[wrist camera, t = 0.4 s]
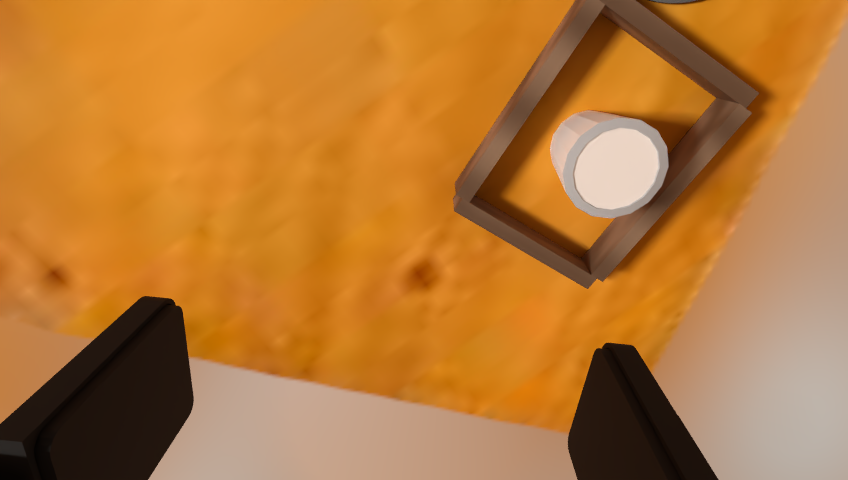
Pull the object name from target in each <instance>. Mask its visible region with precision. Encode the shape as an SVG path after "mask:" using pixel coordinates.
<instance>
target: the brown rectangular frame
mask: <svg viewBox="0 0 848 480" xmlns="http://www.w3.org/2000/svg"><path fill="white" fill-rule="evenodd" d="M599 13H601V14H602V15H604V16H605V17H606V18H608V19H609V20H611V21H612V22H613V23H615V24H616V25H617V26H619V27H620V28H621V29H623V30H624V31H626V32H627V33H628V34H630V35H631V36H632V37H634V38H635V39H637V40H638V41H639V42H641V43H642V44H643V45H645V46H646V47H647V48H649V49H650V50H652V51H653V52H654V53H656V54H657V55H658V56H660V57H661V58H663V59H664V60H665V61H667V62H668V63H669V64H671V65H672V66H673V67H675V68H676V69H678V70H679V71H680V72H682V73H683V74H684V75H686V76H687V77H689V78H690V79H691V80H693V81H694V82H695V83H697V84H698V85H699V86H701V87H702V88H704V89H705V90H706V91H708V92H709V93H710V94H712V95H713V96H715V97H716V99H715V100H714V102H713V103H712V104H711V105H710V106H709V108H708V109H707V110H706V111H705V112H704V113H703V115H702V116H701V117H700V118H699V119H698V121H697V122H696V123H695V124H694V125H693V127H692V128H691V129H690V130H689V131H688V132H687V134H686V135H685V136H684V137H683V138H682V140H681V141H680V142H679V143H678V144H677V146H676V147H675V148H674V149H673V150H672V151H671V153H670V154H669V155H668V165H669V167H668V170H667V173H666V176H665V178H664V181H663V184H662V186H661V188H660V189H659V190H658V191H657V193H656V194H655V195H654V196H653V198H652V199H651V200H650V201H649V202H648V203H647V204H645V205H644V206H642V207H640V208H639V209H637V210H636V211H634V212H632V213H631V214H627V215H623V216H618V217H616V218H615V219H614V220H613V222H612V223H611V224H610V225H609V226H608V227H607V229H606V230H605V231H604V232H603V233H602V235H601V236H600V237H599V238H598V239H597V241H596V242H595V243H594V244H593V245H592V246H591V248H590V249H589V250H588V251H587V252H586V254H585V255H584V256H583V257H582V258H579V257H578V256H576V255H574V254H573V253H571V252H569V251H568V250H566V249H564V248H563V247H561V246H559V245H558V244H556V243H554V242H553V241H551V240H549V239H548V238H546V237H544V236H543V235H541V234H539V233H537V232H536V231H534V230H532V229H531V228H529V227H527V226H526V225H524V224H522V223H521V222H519V221H517V220H516V219H514V218H512V217H511V216H509V215H507V214H506V213H504V212H502V211H501V210H499V209H497V208H496V207H494V206H492V205H491V204H489V203H487V202H486V201H484V200H482V199H481V198H479V197H477V196H476V195H475V193H476V192H477V191H478V189H479V188H480V186H481V185H482V183H483V182H484V180H485V179H486V177H487V176H488V175H489V173H490V172H491V170H492V169H493V167H494V166H495V164H496V163H497V161H498V160H499V159H500V157H501V156H502V154H503V153H504V151H505V150H506V148H507V147H508V145H509V144H510V143H511V141H512V140H513V138H514V137H515V135H516V134H517V132H518V131H519V129H520V128H521V127H522V125H523V124H524V122H525V121H526V119H527V118H528V116H529V115H530V113H531V112H532V111H533V109H534V108H535V106H536V105H537V103H538V102H539V100H540V99H541V97H542V96H543V95H544V93H545V92H546V90H547V89H548V87H549V86H550V84H551V83H552V81H553V80H554V79H555V77H556V76H557V74H558V73H559V71H560V70H561V68H562V67H563V65H564V64H565V63H566V61H567V60H568V58H569V57H570V55H571V54H572V52H573V51H574V49H575V48H576V47H577V45H578V44H579V42H580V41H581V39H582V38H583V36H584V35H585V33H586V32H587V31H588V29H589V28H590V26H591V25H592V23H593V22H594V20H595V19H596V17H597V16H598V15H599ZM758 94H759V93H758V92H757V91H756V90H754V89H753V88H752V87H750V86H749V85H748V84H746V83H745V82H744V81H742V80H741V79H740V78H738V77H737V76H736V75H734V74H733V73H732V72H730V71H729V70H728V69H726V68H725V67H724V66H722V65H721V64H720V63H718V62H717V61H716V60H714V59H713V58H712V57H710V56H709V55H708V54H706V53H705V52H704V51H702V50H701V49H700V48H698V47H697V46H696V45H694V44H693V43H692V42H690V41H689V40H688V39H686V38H685V37H684V36H682V35H681V34H680V33H678V32H677V31H676V30H674V29H673V28H672V27H670V26H669V25H668V24H666V23H665V22H664V21H662V20H661V19H660V18H659V17H657V16H656V15H655V14H653V13H652V12H651V11H649V10H648V9H647V8H645V7H644V6H643V5H641V4H640V3H639V2H637V1H636V0H576V1H575V2H574V4H573V5H572V7H571V8H570V10H569V11H568V13H567V14H566V16H565V17H564V19H563V20H562V22H561V23H560V25H559V26H558V28H557V29H556V31H555V32H554V34H553V35H552V37H551V39H550V40H549V42H548V43H547V45H546V46H545V48H544V49H543V51H542V52H541V54H540V55H539V57H538V58H537V60H536V61H535V63H534V64H533V66H532V67H531V69H530V70H529V72H528V73H527V75H526V76H525V78H524V79H523V81H522V82H521V84H520V85H519V87H518V88H517V90H516V91H515V93H514V94H513V96H512V98H511V99H510V101H509V102H508V104H507V105H506V107H505V108H504V110H503V111H502V113H501V114H500V116H499V117H498V119H497V120H496V122H495V123H494V125H493V126H492V128H491V129H490V131H489V132H488V134H487V135H486V137H485V138H484V140H483V141H482V143H481V144H480V146H479V147H478V149H477V150H476V152H475V153H474V155H473V157H472V158H471V160H470V161H469V163H468V164H467V166H466V167H465V169H464V170H463V172H462V173H461V175H460V176H459V178H458V179H457V181H456V182H455V189H456V195H455V196H454V198H453V202H454V211H455V212H457V213H458V214H460V215H462V216H463V217H465V218H467V219H469V220H470V221H472V222H474V223H475V224H477V225H479V226H481V227H482V228H484V229H486V230H487V231H489V232H491V233H493V234H494V235H496V236H498V237H499V238H501V239H503V240H505V241H506V242H508V243H510V244H511V245H513V246H515V247H516V248H518V249H520V250H522V251H523V252H525V253H527V254H528V255H530V256H532V257H534V258H535V259H537V260H539V261H540V262H542V263H544V264H546V265H547V266H549V267H551V268H552V269H554V270H556V271H558V272H559V273H561V274H563V275H564V276H566V277H568V278H570V279H571V280H573V281H575V282H576V283H578V284H580V285H582V286H583V287H585V288H587V289H588V288H589V287H590V286H591V285H592V284H593V282H594V281H595V280H596V279H599V280H601V281H602V282H603V281H604V280H605V279H606V278H607V276H608V275H609V274H610V273H611V272H612V271H613V270H614V268H615V267H616V266H617V265H618V264H619V263H620V262H621V261H622V259H623V258H624V257H625V256H626V255H627V254H628V253H629V252H630V250H631V249H632V248H633V247H634V246H635V245H636V244H637V243H638V241H639V240H640V239H641V238H642V237H643V236H644V235H645V233H646V232H647V231H648V230H649V229H650V228H651V227H652V226H653V224H654V223H655V222H656V221H657V220H658V219H659V218H660V217H661V215H662V214H663V213H664V212H665V211H666V210H667V209H668V207H669V206H670V205H671V204H672V203H673V202H674V201H675V200H676V198H677V197H678V196H679V195H680V194H681V193H682V192H683V191H684V189H685V188H686V187H687V186H688V185H689V184H690V183H691V182H692V180H693V179H694V178H695V177H696V176H697V175H698V174H699V172H700V171H701V170H702V169H703V168H704V167H705V166H706V165H707V163H708V162H709V161H710V160H711V159H712V158H713V157H714V156H715V154H716V153H717V152H718V151H719V150H720V149H721V148H722V146H723V145H724V144H725V143H726V142H727V141H728V140H729V139H730V137H731V136H732V135H733V134H734V133H735V132H736V131H737V130H738V128H739V127H740V126H741V125H742V124H743V123H744V122H745V121H746V119H747V118H748V117H749V116H750V115H751V114H752V113H751V112H750V111H749V110H747V109H746V108H747V107H748V106H749V104H750V103H751V102H752V101H753V100H754V99H755V98H756V96H757V95H758Z"/></svg>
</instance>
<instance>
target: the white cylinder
mask: <svg viewBox="0 0 848 480" xmlns="http://www.w3.org/2000/svg"><path fill="white" fill-rule="evenodd" d="M550 153H551V158H552V163H553V165H554V167H555V169H556V172H557V174H558V176H559V178H560V180H561V183H562V185H563V187H564V189H565V192H566V193H567V195H568V196H569V198H570V199H571V200H572V202H573V203H574V205H575V206H576V207H577V208H579V209H581V210H582V211H584V212H586V213H588V214H589V215H591V216H596V217H604V218H614V217H618V216H623V215H627V214H631V213H632V212H634V211H636V210H637V209H639V208H640V207H642V206H644V205H645V204H647V203H648V202H649V201H650V200H651V199H652V198H653V196H654V195H655V194H656V193H657V191H658V190H659V189H660V188H661V186H662V184H663V181H664V178H665V176H666V173H667V170H668V167H669V165H668V152H667V146H666V144H665V142H664V141H663V139H662V137H661V136H660V134H659V132H658V131H657V130H656V129H654V128H653V127H651V126H650V125H648V124H646V123H645V122H643V121H642V120H638V119H634V118H629V117H624V116H619V115H615V114H610V113H605V112H599V111H591V110H586V111H583V112H579V113H575V114H573V115H571V116H570V117H569V118H567V119H566V120H565V121H563V122H562V123H561V124H560V126H559V127H558V128H557V130H556V131H555V133H554V134H553V137H552V142H551V146H550Z"/></svg>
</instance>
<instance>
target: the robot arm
mask: <svg viewBox="0 0 848 480" xmlns="http://www.w3.org/2000/svg"><path fill="white" fill-rule="evenodd" d="M193 401H194V400H193V390H192V382H191V374H190V366H189V358H188V350H187V342H186V334H185V327H184V319H183V312H182V309H181V307H180V306H176V305H175V302H174V301H173V300H172V299H169V298H160V297H150V296H144V297H142V298H140V299H139V300H138V301H137V302H135V303H134V304H133V305H132V306H131V307H130V308H129V309H128V310H127V311H125V312H124V313H123V314H122V315H121V316H120V317H119V318H118V319H117V320H115V321H114V322H113V323H112V324H111V325H110V326H109V327H108V328H107V329H105V330H104V331H103V332H102V333H101V334H100V335H99V336H98V337H97V338H95V339H94V340H93V341H92V342H91V343H90V344H89V345H88V346H87V347H85V348H84V349H83V350H82V351H81V352H80V353H79V354H78V355H77V356H75V357H74V358H73V359H72V360H71V361H70V362H69V363H68V364H67V365H65V366H64V367H63V368H62V369H61V370H60V371H59V372H58V373H57V374H55V375H54V376H53V377H52V378H51V379H50V380H49V381H48V382H47V383H45V384H44V385H43V386H42V387H41V388H40V389H39V390H38V391H37V392H35V393H34V394H33V395H32V396H31V397H30V398H29V399H28V400H26V402H24V403H23V404H22V405H21V406H20V407H19V408H18V409H17V410H15V411H14V412H13V413H12V414H11V415H10V416H9V417H8V418H6V419H5V420H4V421H3V422H2V423H1V424H0V480H148V479H149V477H150V476H151V474H152V473H153V471H154V469H155V468H156V466H157V465H158V463H159V462H160V460H161V459H162V457H163V456H164V454H165V452H166V451H167V449H168V448H169V446H170V445H171V443H172V442H173V440H174V438H175V437H176V435H177V434H178V432H179V431H180V429H181V428H182V426H183V425H184V423H185V421H186V420H187V418H188V417H189V415H190V413H191V410H192V407H193ZM568 449H569V453H570V457H571V460H572V463H573V466H574V469H575V473H576V476H577V479H578V480H718V478H717V477H716V475H715V474H714V472H713V470H712V469H711V467H710V466H709V464H708V463H707V461H706V459H705V458H704V456H703V454H702V453H701V451H700V449H699V448H698V446H697V445H696V443H695V441H694V440H693V438H692V437H691V435H690V434H689V432H688V430H687V429H686V427H685V426H684V424H683V422H682V421H681V419H680V418H679V416H678V415H677V414H676V412H675V410H674V409H673V407H672V406H671V404H670V402H669V401H668V399H667V398H666V396H665V394H664V393H663V391H662V390H661V388H660V387H659V385H658V383H657V382H656V380H655V379H654V377H653V375H652V374H651V372H650V371H649V369H648V367H647V366H646V364H645V363H644V361H643V359H642V358H641V356H640V355H639V353H638V351H637V350H636V348H635V347H634V346H632V345H625V344H615V343H605V344H604V346H603V347H602V349H601V348H598V349H596V350H595V352H594V355H593V358H592V361H591V364H590V368H589V371H588V374H587V377H586V381H585V384H584V387H583V390H582V394H581V397H580V400H579V403H578V407H577V410H576V413H575V416H574V420H573V423H572V426H571V429H570V433H569V437H568Z"/></svg>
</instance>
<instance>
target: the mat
mask: <svg viewBox="0 0 848 480" xmlns="http://www.w3.org/2000/svg"><path fill="white" fill-rule="evenodd" d="M649 1H653V2H658V3H686V2H691V1H696V0H649Z"/></svg>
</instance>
